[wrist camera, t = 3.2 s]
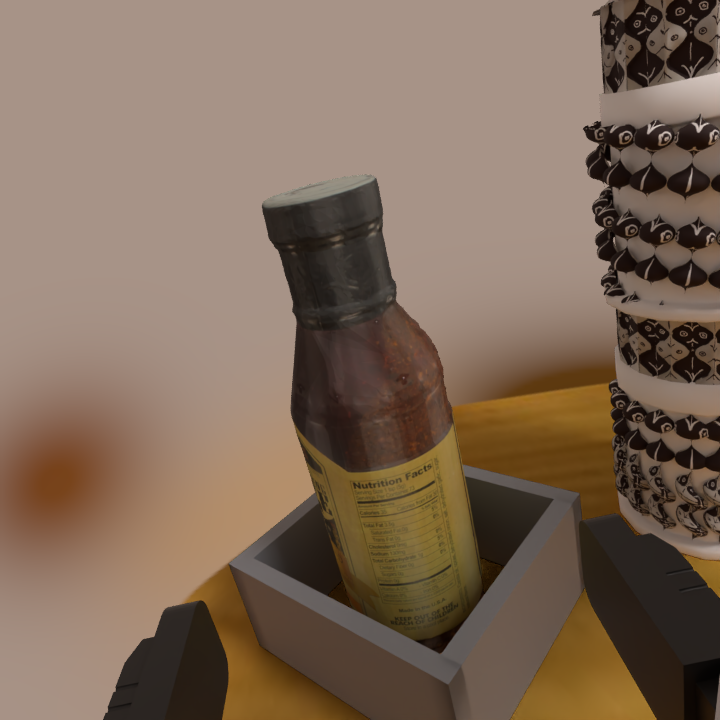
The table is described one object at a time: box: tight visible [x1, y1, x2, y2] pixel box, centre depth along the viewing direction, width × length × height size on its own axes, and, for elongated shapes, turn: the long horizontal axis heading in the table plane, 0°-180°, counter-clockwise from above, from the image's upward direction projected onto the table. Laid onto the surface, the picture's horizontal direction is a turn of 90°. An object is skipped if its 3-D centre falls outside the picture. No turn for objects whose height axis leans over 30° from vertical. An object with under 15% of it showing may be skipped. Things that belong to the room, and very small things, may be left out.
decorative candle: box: [583, 0, 720, 560], centre depth 25 cm, size 9×9×25 cm
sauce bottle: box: [262, 175, 484, 654], centre depth 24 cm, size 6×6×20 cm
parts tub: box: [229, 465, 585, 720], centre depth 26 cm, size 11×12×5 cm
